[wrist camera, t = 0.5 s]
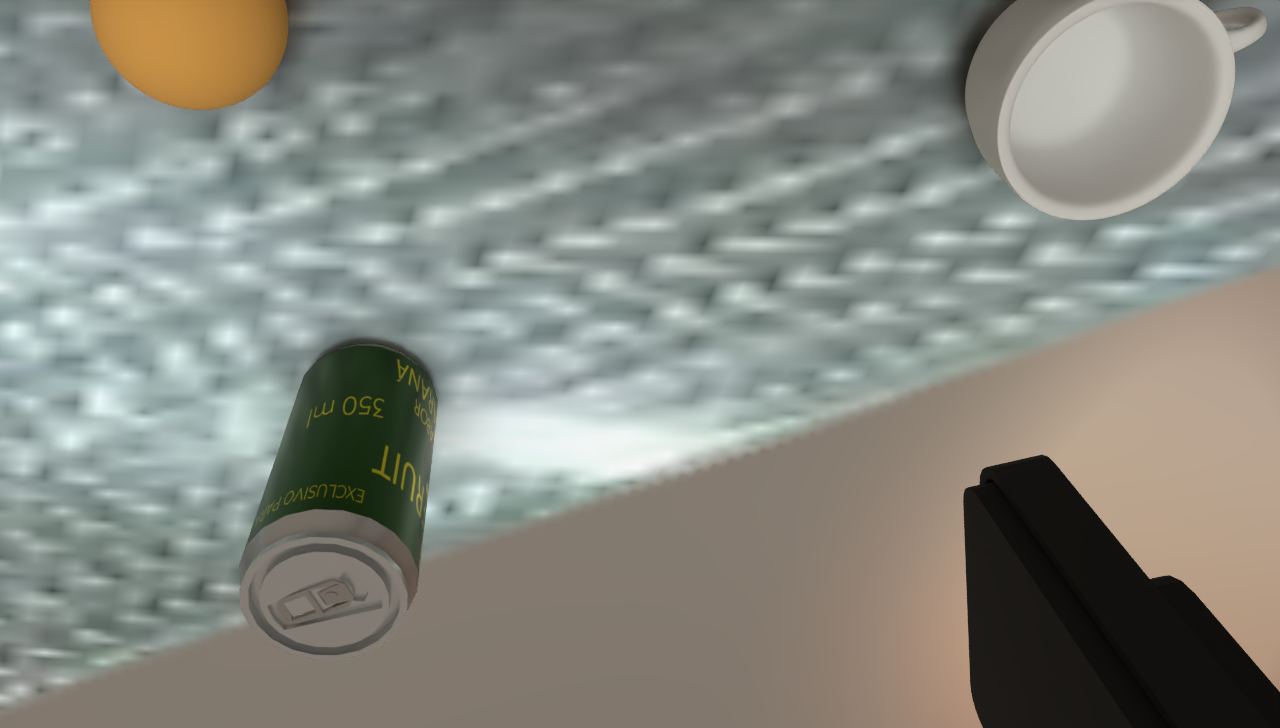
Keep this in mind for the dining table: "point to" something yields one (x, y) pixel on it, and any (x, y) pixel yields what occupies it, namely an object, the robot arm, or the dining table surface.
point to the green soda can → (343, 508)
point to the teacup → (1102, 97)
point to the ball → (193, 47)
